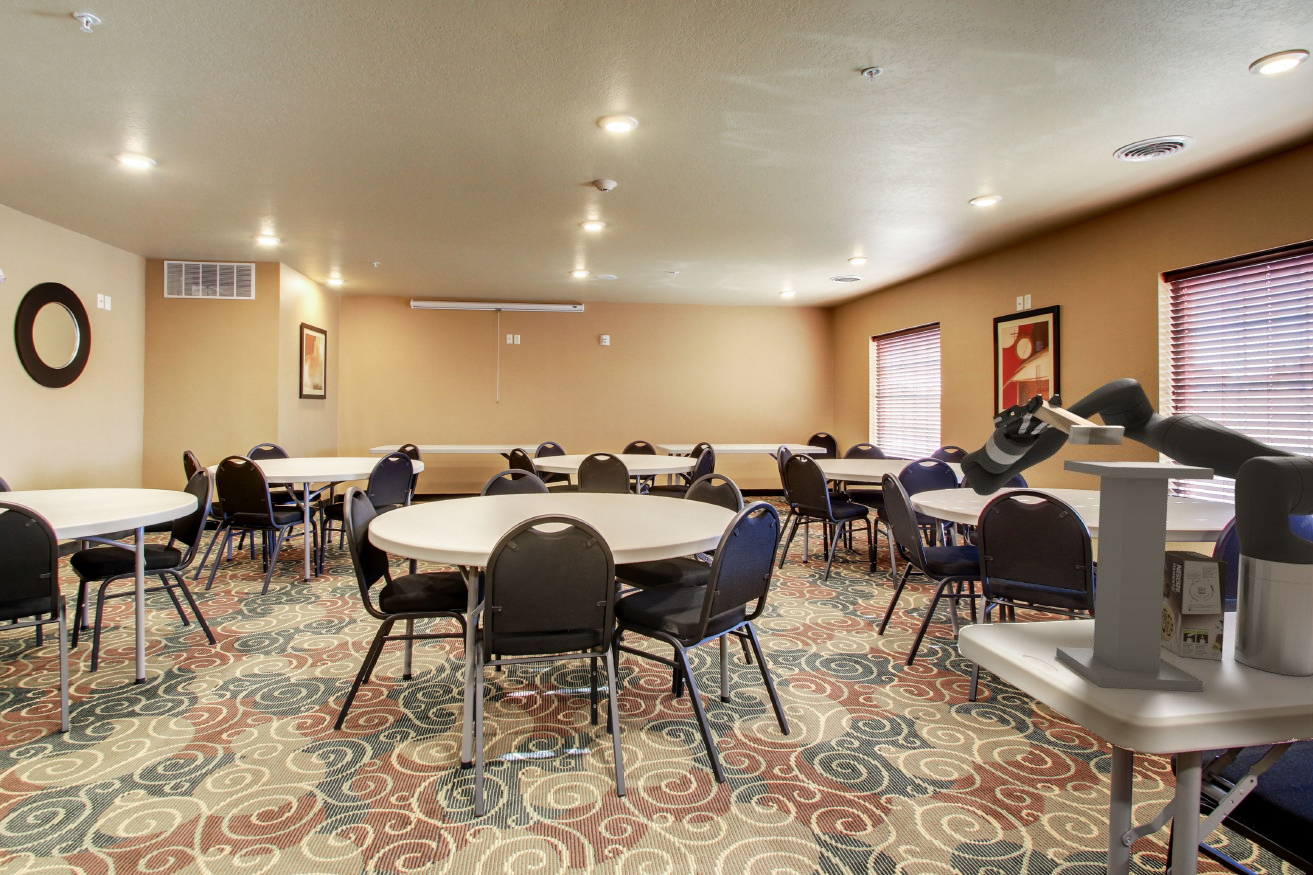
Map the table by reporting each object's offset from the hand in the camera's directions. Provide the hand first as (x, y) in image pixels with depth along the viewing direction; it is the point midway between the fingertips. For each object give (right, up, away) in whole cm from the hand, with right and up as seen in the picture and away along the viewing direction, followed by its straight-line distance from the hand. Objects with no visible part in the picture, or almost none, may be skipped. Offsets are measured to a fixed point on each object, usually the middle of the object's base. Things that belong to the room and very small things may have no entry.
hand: (1049, 398), depth 124 cm
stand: (-3, -43, -24) cm, 49 cm away
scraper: (0, -5, -5) cm, 7 cm away
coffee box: (+15, -43, -13) cm, 48 cm away
